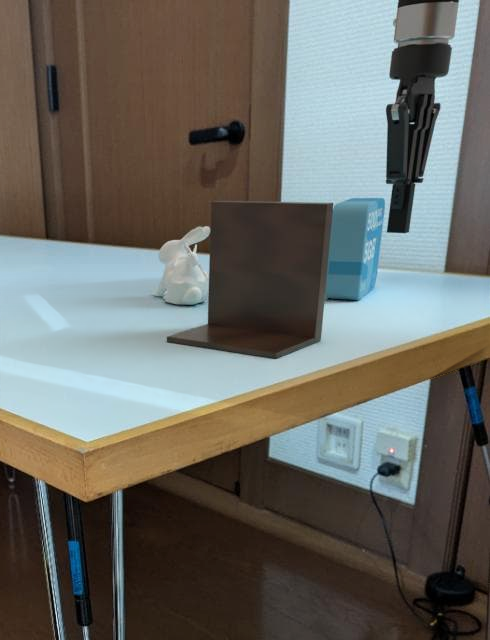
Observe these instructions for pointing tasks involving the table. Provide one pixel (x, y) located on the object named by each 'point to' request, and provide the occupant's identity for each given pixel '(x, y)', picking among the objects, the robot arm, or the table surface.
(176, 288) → the rabbit figurine
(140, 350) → the table surface
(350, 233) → the data package
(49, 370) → the table surface
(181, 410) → the table surface
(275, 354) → the bookend
